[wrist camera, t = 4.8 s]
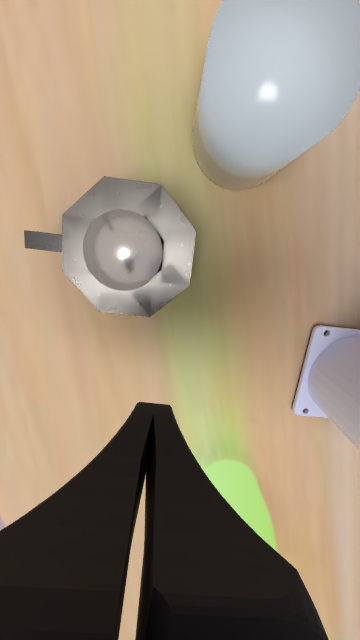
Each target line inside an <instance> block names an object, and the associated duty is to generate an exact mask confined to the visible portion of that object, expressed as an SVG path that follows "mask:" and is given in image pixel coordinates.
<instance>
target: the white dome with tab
mask: <svg viewBox="0 0 360 640" xmlns="http://www.w3.org/2000/svg"><path fill="white" fill-rule="evenodd" d="M359 89H360V2H359V0H223V1H222V3H221V5H220V7H219V9H218V11H217V14H216V16H215V19H214V21H213V25H212V28H211V32H210V36H209V42H208V47H207V52H206V58H205V63H204V69H203V74H202V79H201V85H200V90H199V96H198V101H197V106H196V112H195V117H194V123H193V129H192V146H193V152H194V155H195V158H196V161H197V163H198V165H199V167H200V169H201V170H202V172H203V173H204V174H205V175H206V177H207V178H209V179H210V180H211V181H212V182H213V183H215V184H216V185H218V186H220V187H222V188H225V189H229V190H236V191H240V190H247V189H251V188H254V187H256V186H258V185H260V184H262V183H263V182H264V181H266V180H267V179H269V178H270V177H271V176H273V175H274V174H275V173H277V172H278V171H279V170H281V169H282V168H284V167H285V166H286V165H288V164H289V163H290V162H292V161H293V160H294V159H296V158H297V157H298V156H300V155H301V154H303V153H304V152H305V151H307V150H308V149H309V148H311V147H312V146H313V145H315V144H316V143H318V142H319V141H320V140H322V139H323V138H324V137H326V136H327V135H328V134H329V133H330V132H331V131H333V130H334V129H335V128H336V127H337V125H338V124H339V123H340V122H341V121H342V120H343V118H344V117H345V115H346V114H347V112H348V111H349V109H350V108H351V106H352V104H353V102H354V100H355V98H356V96H357V94H358V91H359Z"/></svg>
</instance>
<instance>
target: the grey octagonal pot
mask: <svg viewBox="0 0 360 640" xmlns="http://www.w3.org/2000/svg"><path fill="white" fill-rule="evenodd" d="M117 209H123V210H130V211H133V212H136V213H138V214H140V215H141V216H143V217H144V218H146V219H147V220H148V221H149V222H150V223H151V224H152V225H153V227H154V228H155V230H156V231H157V233H158V235H159V237H160V239H161V242H162V248H163V257H162V262H161V265H160V267H159V270H158V271H157V273H156V275H155V276H154V277H153V278H152V280H150V281H149V282H148V283H147V284H146V285H144V286H142V287H140V288H138V289H135V290H130V291H120V290H115V289H111V288H109V287H107V286H105V285H103V284H101V283H100V282H99V281H98V280H97V279H96V278H95V277H94V276H93V275H92V274H91V273H90V271H89V269H88V268H87V265H86V263H85V260H84V256H83V240H84V236H85V233H86V231H87V229H88V227H89V225H90V224H91V223H92V222H93V221H94V219H96V218H97V217H98V216H99V215H101V214H103V213H105V212H108V211H111V210H117ZM24 236H25V248H30V249H39V250H48V251H56V252H62V271H63V273H64V274H65V275H66V276H67V277H68V278H69V279H70V280H71V281H72V282H73V283H74V285H75V286H76V287H77V288H78V289H79V290H80V291H81V292H82V293H83V294H84V295H85V297H86V298H87V299H88V300H89V301H90V302H91V303H92V304H93V305H94V306H95V307H96V309H97V310H98V311H99V312H108V313H118V314H128V315H137V316H147V317H150V316H152V315H153V314H154V313H155V312H157V311H158V310H159V309H161V308H162V307H163V306H164V305H166V304H167V303H168V302H169V301H171V300H172V299H173V298H174V297H176V296H177V295H178V294H179V293H181V292H182V291H183V290H184V289H186V288H187V287H188V286H189V285H190V278H191V270H192V262H193V254H194V246H195V238H196V230H195V229H194V228H193V226H192V225H191V224H190V222H189V221H188V220H187V218H186V217H185V215H184V214H183V213H182V211H181V210H180V209H179V207H178V206H177V204H176V203H175V202H174V200H173V199H172V198H171V196H170V195H169V194H168V192H167V191H166V189H165V188H164V187H163V185H162V184H156V183H149V182H141V181H134V180H127V179H119V178H112V177H105V176H104V177H103V178H102V179H101V180H100V181H99V182H97V183H96V184H95V185H94V186H93V187H92V188H91V189H90V190H89V191H88V192H87V193H85V194H84V195H83V196H82V197H81V198H80V199H79V200H78V201H77V202H76V203H75V204H73V205H72V206H71V207H70V208H69V209H68V210H67V211H66V212H65V213H64V214H63V215H62V235H59V234H51V233H43V232H34V231H26V230H24Z"/></svg>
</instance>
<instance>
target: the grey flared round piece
mask: <svg viewBox="0 0 360 640" xmlns="http://www.w3.org/2000/svg"><path fill="white" fill-rule="evenodd" d="M83 256H84V260H85V263H86V265H87V268H88V269H89V271H90V273H91V274H92V275H93V276H94V277H95V278H96V279H97V280H98V281H99V282H100V283H101V284H103V285H105V286H107V287H109V288H111V289H115V290H120V291H130V290H135V289H138V288H140V287H142V286H144V285H146V284H147V283H148V282H149V281H150V280H152V278H153V277H154V276H155V275H156V273H157V271H158V270H159V267H160V265H161V262H162V257H163V248H162V242H161V239H160V237H159V235H158V233H157V231H156V230H155V228H154V227H153V225H152V224H151V223H150V222H149V221H148V220H147V219H146V218H144V217H143V216H141V215H140V214H138V213H136V212H133V211H130V210H123V209H117V210H111V211H108V212H105V213H103V214H101V215H99V216H98V217H97V218H96V219H94V221H93V222H92V223H91V224H90V225H89V227H88V229H87V231H86V233H85V236H84V240H83Z"/></svg>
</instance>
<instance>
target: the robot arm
mask: <svg viewBox="0 0 360 640" xmlns="http://www.w3.org/2000/svg"><path fill="white" fill-rule="evenodd" d="M326 330H327V333H326V334H325V335H324V331H326ZM305 408H306V410H304V411H303V409H305ZM292 410H293V412H294V413H295V414H296V415H301V416H313V417H326V418H329V419H330V420H331V421H332V422H333V423H334V424H335V425H336V426H337V427H338V428H339V429H340V430H341V431H342V432H343V433H344V434H345V435H346V436H347V437H348V438H349V440H350V441H351V442H352V443H353V444H354V445H355V446H356V447H357V448H358V449H359V450H360V329H351V328H341V327H332V326H322V325H318V326H315V327H314V328H313V330H312V334H311V338H310V342H309V345H308V349H307V353H306V357H305V361H304V365H303V369H302V372H301V376H300V380H299V384H298V388H297V392H296V396H295V400H294V403H293V407H292ZM145 475H146V499H145V541H144V556H143V567H142V577H141V588H140V598H139V608H138V619H137V629H136V639H135V640H328V637H327V635H326V632H325V630H324V627H323V625H322V622H321V620H320V617H319V615H318V613H317V610H316V608H315V606H314V604H313V602H312V599H311V597H310V595H309V593H308V591H307V589H306V587H305V585H304V583H303V581H302V579H301V577H300V575H299V573H298V571H297V569H295V568H294V567H293V566H292V565H291V564H290V563H289V562H288V561H286V560H285V559H284V558H283V557H282V556H281V555H280V554H279V553H277V552H276V551H275V550H274V549H273V548H272V547H271V546H270V545H268V544H267V543H266V542H265V541H264V540H263V539H262V538H261V537H260V536H258V534H256V533H255V531H254V530H253V529H252V528H251V527H249V526H248V524H246V522H245V521H244V520H243V519H242V518H241V517H240V516H239V515H238V514H237V513H236V512H235V510H234V509H233V508H232V507H231V506H230V505H229V504H228V503H227V501H226V500H225V499H224V498H223V497H222V496H221V494H220V493H219V492H218V490H217V489H216V488H215V487H214V485H213V484H212V483H211V481H210V480H209V478H208V477H207V476H206V474H205V473H204V471H203V470H202V468H201V467H200V465H199V464H198V462H197V460H196V459H195V457H194V455H193V454H192V452H191V450H190V449H189V447H188V445H187V443H186V441H185V439H184V437H183V435H182V433H181V431H180V429H179V427H178V424H177V422H176V419H175V417H174V414H173V411H172V408H171V406H170V405H164V404H154V403H144V402H139V403H137V404H136V406H135V408H134V410H133V411H132V413H131V415H130V416H129V418H128V419H127V420H126V422H125V423H124V425H123V426H122V427H121V428H120V430H119V431H118V432H117V434H116V435H115V436H114V437H113V438H112V439H111V441H110V442H109V443H108V444H107V445H106V446H105V447H104V449H103V450H102V451H101V452H100V453H99V454H98V455H97V456H96V457H95V458H94V459H93V460H92V461H91V462H90V463H89V464H88V465H87V466H86V467H85V468H84V469H83V470H81V471H80V472H79V473H78V474H77V475H76V476H75V477H73V478H72V479H71V480H70V481H69V482H68V483H66V484H65V485H64V486H63V487H62V488H60V489H59V490H58V491H57V492H55V493H54V494H53V495H51V496H50V497H49V498H47V499H46V500H44V501H43V502H42V503H40V504H39V505H38V506H36V507H35V508H33V509H32V510H31V511H29V512H28V513H27V514H25V515H24V516H22V517H21V518H19V519H18V520H16V521H15V522H13V523H12V524H10V525H9V526H7V527H5V528H4V529H2V530H1V531H0V640H118V637H119V630H120V622H121V615H122V607H123V600H124V593H125V585H126V578H127V570H128V563H129V555H130V549H131V543H132V537H133V532H134V527H135V523H136V518H137V513H138V508H139V504H140V499H141V494H142V489H143V484H144V480H145Z"/></svg>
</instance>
